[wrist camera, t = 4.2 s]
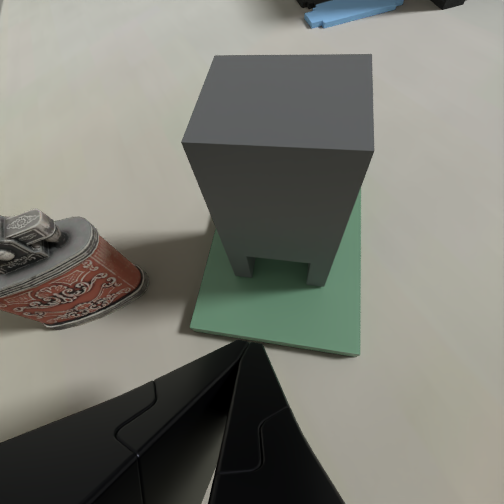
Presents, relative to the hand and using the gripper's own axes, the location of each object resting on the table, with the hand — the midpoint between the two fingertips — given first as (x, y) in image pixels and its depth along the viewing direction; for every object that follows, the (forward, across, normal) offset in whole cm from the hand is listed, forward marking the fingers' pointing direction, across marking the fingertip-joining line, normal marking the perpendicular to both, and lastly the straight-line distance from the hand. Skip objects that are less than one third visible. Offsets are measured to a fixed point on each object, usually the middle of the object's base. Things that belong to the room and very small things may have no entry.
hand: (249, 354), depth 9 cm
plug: (+13, 0, -1) cm, 13 cm away
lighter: (+10, -14, -5) cm, 18 cm away
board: (+16, 0, 0) cm, 16 cm away
